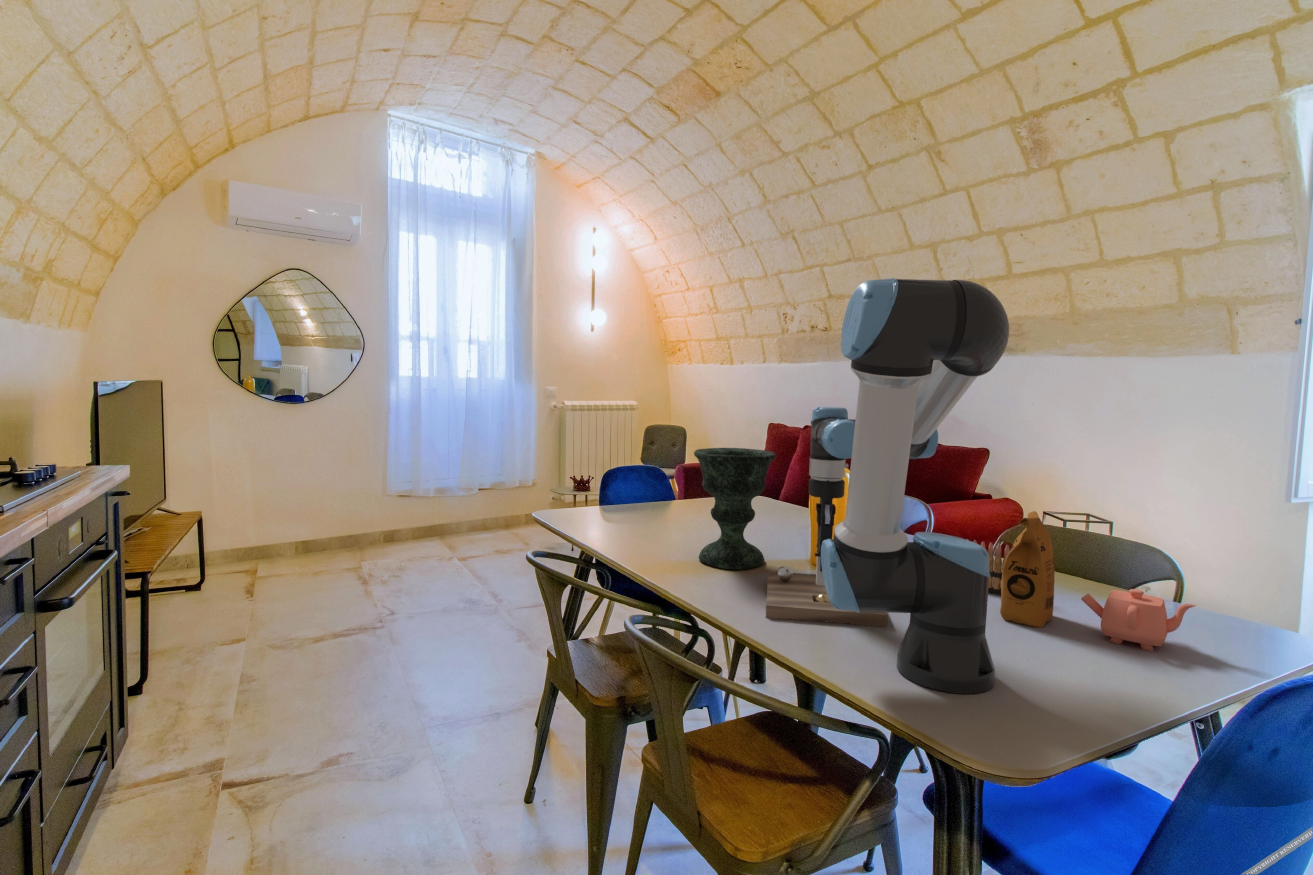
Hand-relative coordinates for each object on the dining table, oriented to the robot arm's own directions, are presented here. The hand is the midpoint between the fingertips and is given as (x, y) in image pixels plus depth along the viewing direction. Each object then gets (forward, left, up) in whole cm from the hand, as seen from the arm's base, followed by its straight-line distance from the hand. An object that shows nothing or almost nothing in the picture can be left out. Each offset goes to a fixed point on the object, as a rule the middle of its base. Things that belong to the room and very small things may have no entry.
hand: (822, 584), depth 147 cm
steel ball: (+8, +8, 0) cm, 11 cm away
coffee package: (+2, -42, -5) cm, 42 cm away
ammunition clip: (+20, -39, -5) cm, 44 cm away
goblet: (+32, +22, -5) cm, 39 cm away
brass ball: (-4, 0, -3) cm, 5 cm away
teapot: (-8, -58, -5) cm, 59 cm away
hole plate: (+2, 0, -5) cm, 5 cm away
